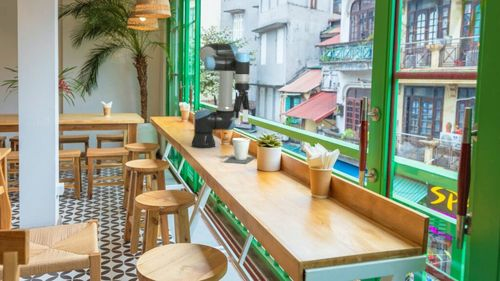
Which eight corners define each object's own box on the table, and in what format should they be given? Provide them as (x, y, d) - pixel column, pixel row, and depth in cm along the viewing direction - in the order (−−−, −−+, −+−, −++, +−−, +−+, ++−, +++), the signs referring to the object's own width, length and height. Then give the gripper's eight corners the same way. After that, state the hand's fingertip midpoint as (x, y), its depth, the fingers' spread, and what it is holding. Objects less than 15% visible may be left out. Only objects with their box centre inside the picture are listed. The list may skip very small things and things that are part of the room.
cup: (251, 158, 250) (251, 138, 249) (249, 161, 240) (249, 140, 239) (233, 157, 251) (233, 137, 250) (230, 160, 241) (230, 140, 240)
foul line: (231, 156, 258) (231, 155, 257) (234, 156, 257) (234, 155, 257) (220, 161, 240) (220, 160, 240) (223, 162, 240) (223, 160, 240)
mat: (234, 156, 256) (234, 156, 256) (255, 158, 253) (255, 157, 253) (223, 162, 239) (223, 161, 239) (245, 164, 236) (245, 163, 236)
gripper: (241, 83, 227) (241, 125, 230) (255, 82, 251) (254, 121, 254) (227, 82, 229) (227, 125, 232) (242, 82, 253) (241, 120, 256)
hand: (241, 123), depth 243 cm, fingers open, 13 cm apart
